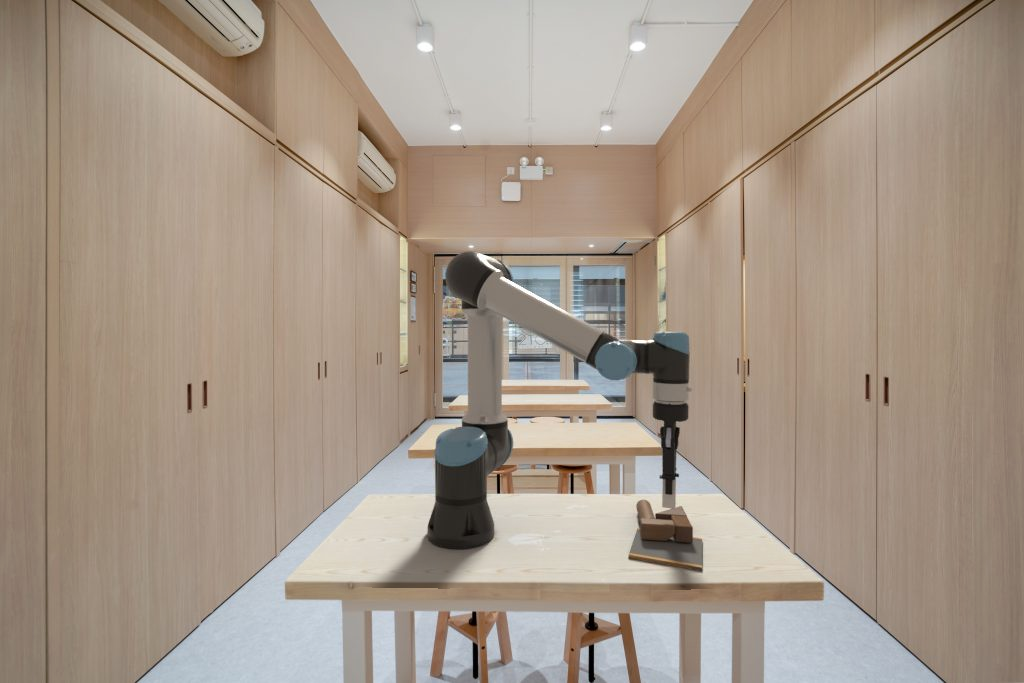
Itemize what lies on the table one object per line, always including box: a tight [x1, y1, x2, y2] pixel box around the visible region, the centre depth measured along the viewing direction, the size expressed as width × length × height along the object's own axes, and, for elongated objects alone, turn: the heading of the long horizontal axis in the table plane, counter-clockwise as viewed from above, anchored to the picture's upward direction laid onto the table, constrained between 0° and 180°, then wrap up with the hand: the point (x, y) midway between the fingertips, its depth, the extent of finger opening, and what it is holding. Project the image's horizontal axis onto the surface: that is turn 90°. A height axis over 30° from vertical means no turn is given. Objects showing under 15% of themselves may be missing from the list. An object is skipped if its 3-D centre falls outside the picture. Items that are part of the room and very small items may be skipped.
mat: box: [628, 527, 703, 572], centre depth 104 cm, size 14×14×1 cm
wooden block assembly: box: [635, 499, 694, 543], centre depth 114 cm, size 4×11×18 cm
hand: (668, 506), depth 108 cm, fingers closed
